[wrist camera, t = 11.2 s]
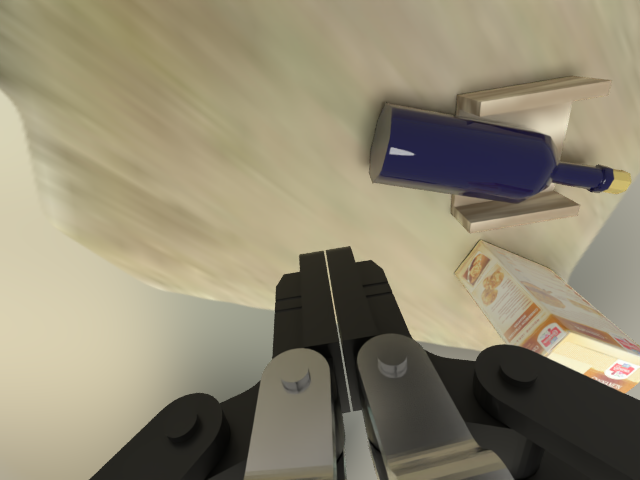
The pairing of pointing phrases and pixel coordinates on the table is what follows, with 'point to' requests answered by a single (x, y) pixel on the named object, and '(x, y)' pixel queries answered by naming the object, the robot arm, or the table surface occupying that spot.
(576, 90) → the u rest
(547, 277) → the coffeecake box
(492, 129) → the bottle
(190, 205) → the table surface
